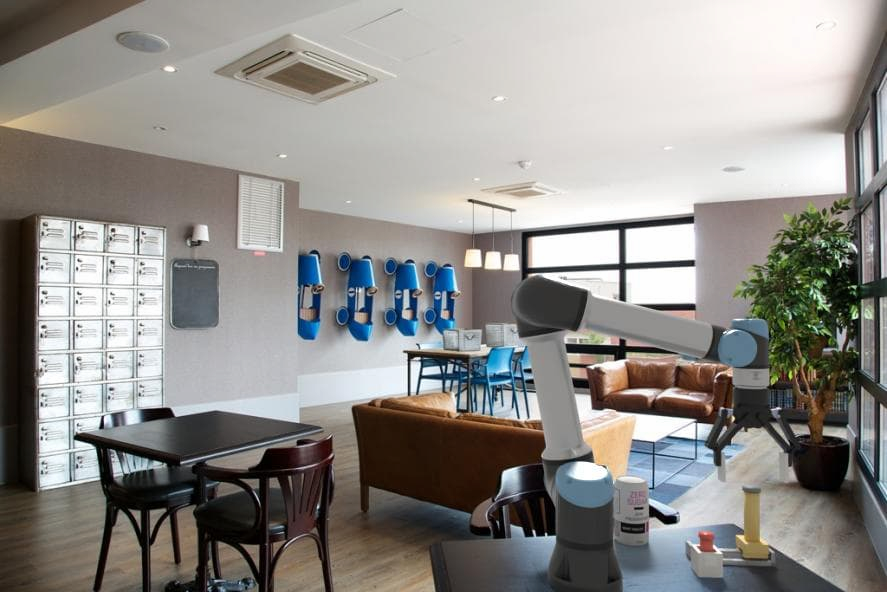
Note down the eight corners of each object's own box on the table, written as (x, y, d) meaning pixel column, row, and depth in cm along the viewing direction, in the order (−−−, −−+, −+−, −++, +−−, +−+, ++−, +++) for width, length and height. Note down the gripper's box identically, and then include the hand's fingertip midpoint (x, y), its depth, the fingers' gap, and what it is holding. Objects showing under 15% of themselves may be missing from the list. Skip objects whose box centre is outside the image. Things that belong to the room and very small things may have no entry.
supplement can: (626, 532, 158) (626, 472, 158) (655, 542, 152) (655, 479, 152) (606, 539, 153) (606, 478, 153) (635, 549, 147) (635, 485, 147)
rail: (694, 563, 139) (693, 550, 139) (685, 553, 145) (685, 540, 145) (775, 566, 137) (775, 552, 137) (763, 555, 143) (763, 542, 143)
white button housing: (698, 577, 131) (698, 553, 132) (690, 567, 137) (690, 544, 137) (723, 578, 131) (723, 554, 131) (714, 568, 136) (714, 544, 136)
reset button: (701, 558, 133) (701, 535, 133) (696, 552, 136) (696, 530, 136) (716, 559, 132) (716, 536, 132) (711, 553, 136) (711, 531, 136)
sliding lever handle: (745, 558, 138) (745, 490, 138) (735, 549, 144) (735, 483, 144) (769, 559, 138) (768, 491, 138) (758, 549, 143) (757, 484, 144)
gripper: (699, 388, 139) (701, 484, 138) (816, 388, 137) (819, 486, 136) (689, 384, 146) (690, 475, 146) (799, 384, 144) (801, 477, 144)
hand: (752, 481), depth 141 cm, fingers open, 13 cm apart
